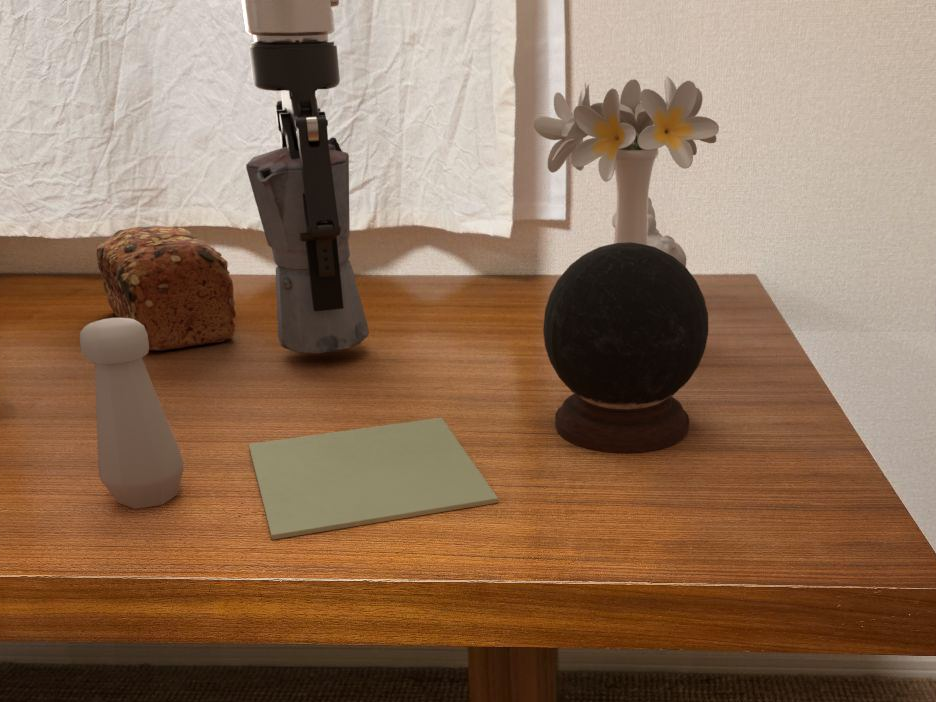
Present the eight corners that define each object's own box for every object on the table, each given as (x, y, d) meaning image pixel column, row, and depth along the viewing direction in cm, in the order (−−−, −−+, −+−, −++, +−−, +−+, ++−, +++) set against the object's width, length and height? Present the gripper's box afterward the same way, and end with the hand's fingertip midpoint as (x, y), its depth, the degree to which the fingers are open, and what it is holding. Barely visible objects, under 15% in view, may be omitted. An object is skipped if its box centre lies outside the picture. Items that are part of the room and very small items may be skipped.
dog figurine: (637, 279, 125) (641, 189, 120) (691, 306, 115) (697, 209, 110) (599, 283, 123) (601, 193, 118) (650, 311, 113) (654, 213, 108)
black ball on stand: (510, 428, 84) (507, 246, 77) (608, 385, 93) (613, 218, 86) (637, 473, 77) (647, 276, 69) (730, 422, 85) (748, 242, 78)
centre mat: (272, 540, 68) (271, 535, 68) (249, 448, 81) (248, 443, 81) (498, 502, 73) (498, 497, 72) (442, 421, 86) (441, 417, 86)
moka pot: (242, 359, 95) (209, 132, 86) (312, 315, 108) (290, 114, 99) (337, 366, 93) (313, 135, 84) (395, 320, 106) (381, 116, 97)
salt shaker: (92, 495, 74) (49, 322, 67) (166, 471, 77) (131, 304, 71) (128, 522, 70) (86, 342, 64) (203, 496, 74) (171, 322, 67)
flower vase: (575, 315, 112) (578, 67, 100) (729, 344, 103) (753, 75, 91) (508, 347, 102) (502, 78, 90) (671, 382, 94) (689, 88, 81)
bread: (243, 341, 104) (228, 243, 100) (136, 358, 100) (115, 257, 95) (200, 297, 119) (185, 210, 114) (104, 311, 114) (85, 220, 109)
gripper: (359, 44, 80) (381, 323, 91) (315, 31, 97) (338, 265, 108) (262, 47, 77) (297, 332, 88) (235, 32, 95) (267, 271, 106)
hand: (320, 295), depth 98 cm, fingers closed on moka pot, 9 cm apart
